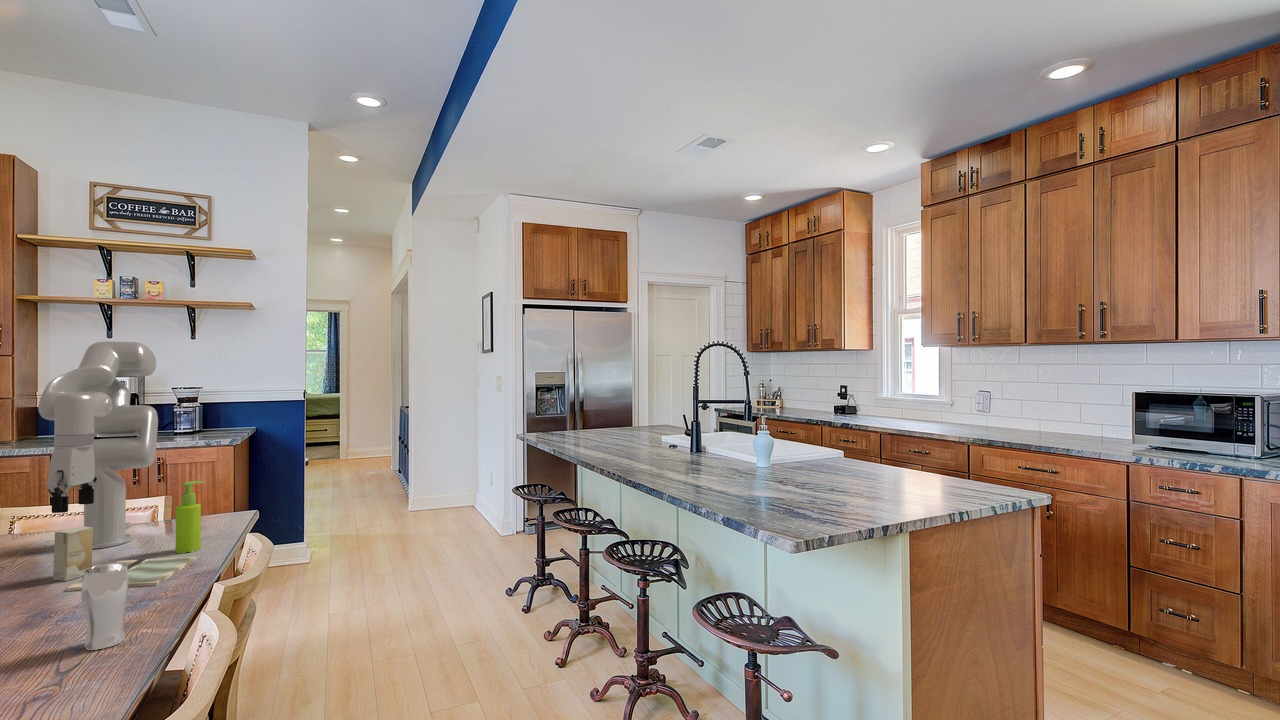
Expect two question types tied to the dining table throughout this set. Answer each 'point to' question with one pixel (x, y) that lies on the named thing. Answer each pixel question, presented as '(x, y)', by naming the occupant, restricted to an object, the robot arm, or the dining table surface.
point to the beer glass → (104, 604)
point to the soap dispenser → (188, 521)
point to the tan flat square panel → (148, 571)
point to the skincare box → (72, 552)
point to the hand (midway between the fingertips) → (73, 508)
